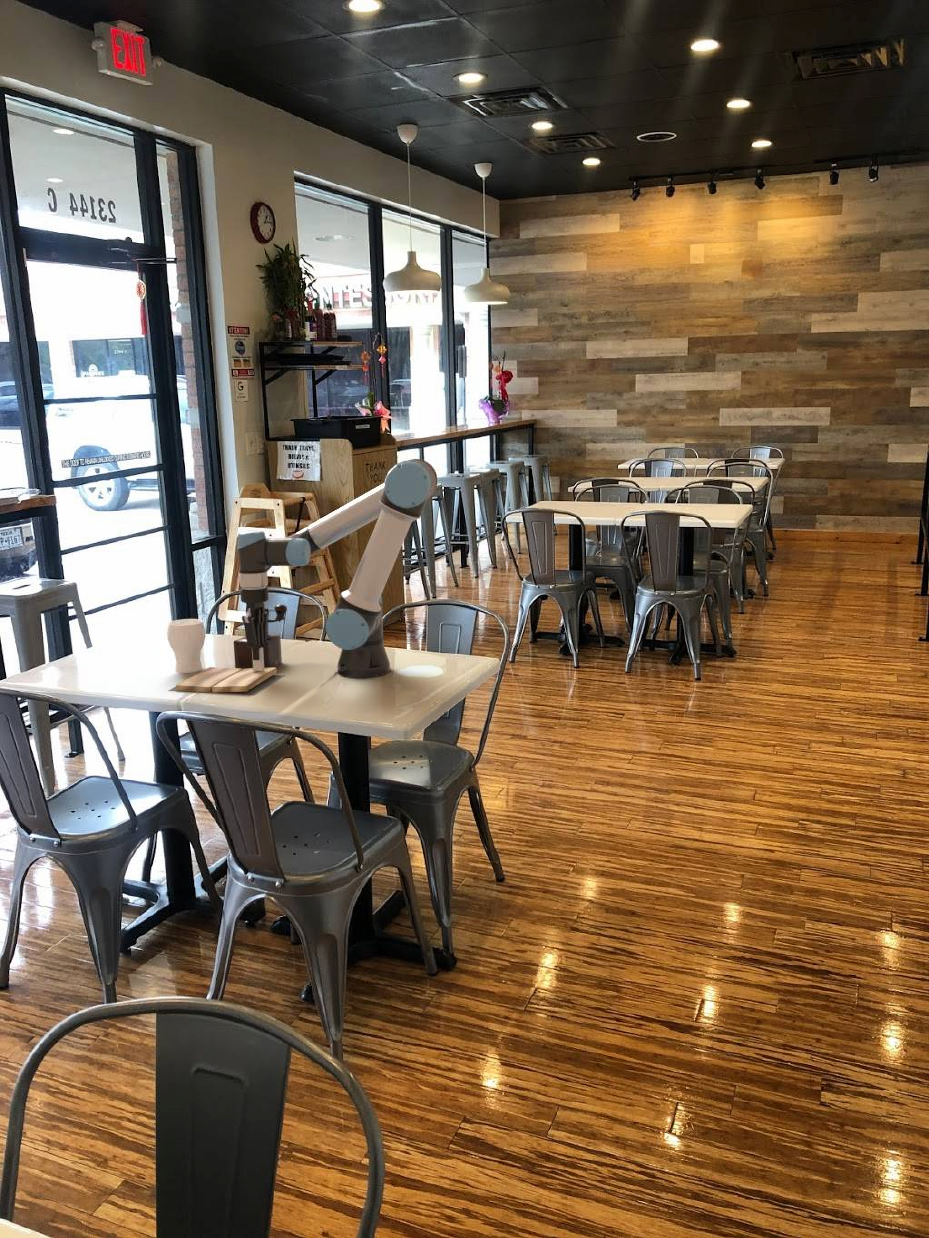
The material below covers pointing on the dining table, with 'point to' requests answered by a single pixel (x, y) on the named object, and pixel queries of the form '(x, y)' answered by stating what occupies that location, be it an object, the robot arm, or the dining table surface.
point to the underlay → (249, 692)
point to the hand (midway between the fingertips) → (258, 670)
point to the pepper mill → (270, 651)
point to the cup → (187, 643)
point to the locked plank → (206, 679)
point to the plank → (243, 680)
